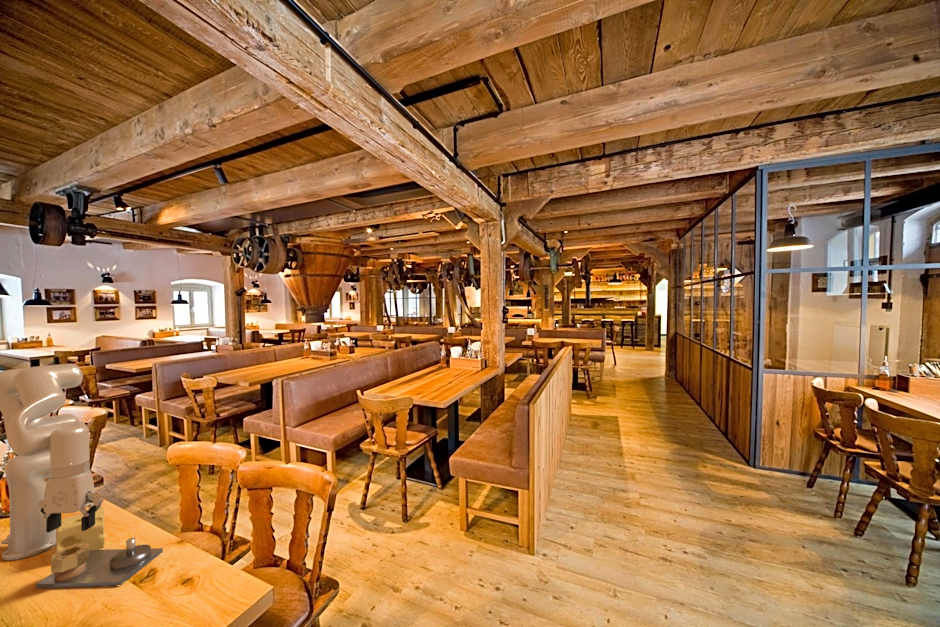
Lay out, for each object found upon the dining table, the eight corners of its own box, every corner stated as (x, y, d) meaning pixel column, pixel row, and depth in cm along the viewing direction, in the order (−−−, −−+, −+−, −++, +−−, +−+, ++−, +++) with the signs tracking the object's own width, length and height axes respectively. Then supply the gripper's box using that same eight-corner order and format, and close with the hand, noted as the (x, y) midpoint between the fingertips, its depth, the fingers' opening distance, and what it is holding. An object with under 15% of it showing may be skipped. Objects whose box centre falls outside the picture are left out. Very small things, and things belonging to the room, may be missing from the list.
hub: (100, 574, 102) (100, 550, 102) (129, 553, 111) (129, 530, 111) (132, 573, 102) (132, 549, 102) (158, 552, 111) (158, 530, 111)
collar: (43, 572, 97) (43, 560, 97) (71, 555, 104) (71, 543, 104) (69, 572, 97) (69, 559, 97) (95, 554, 104) (95, 543, 104)
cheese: (104, 547, 113) (104, 517, 113) (53, 565, 106) (53, 532, 106) (104, 534, 121) (104, 505, 121) (56, 549, 113) (56, 519, 113)
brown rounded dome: (47, 586, 97) (47, 571, 97) (71, 570, 103) (71, 556, 103) (69, 585, 98) (69, 570, 98) (92, 569, 104) (92, 555, 104)
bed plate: (35, 588, 97) (35, 584, 97) (89, 553, 111) (89, 550, 111) (119, 586, 97) (119, 582, 97) (162, 551, 111) (162, 548, 111)
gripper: (23, 476, 96) (24, 538, 96) (87, 474, 97) (88, 535, 97) (54, 465, 104) (55, 522, 104) (113, 463, 104) (114, 520, 104)
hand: (71, 528), depth 100 cm, fingers open, 9 cm apart
